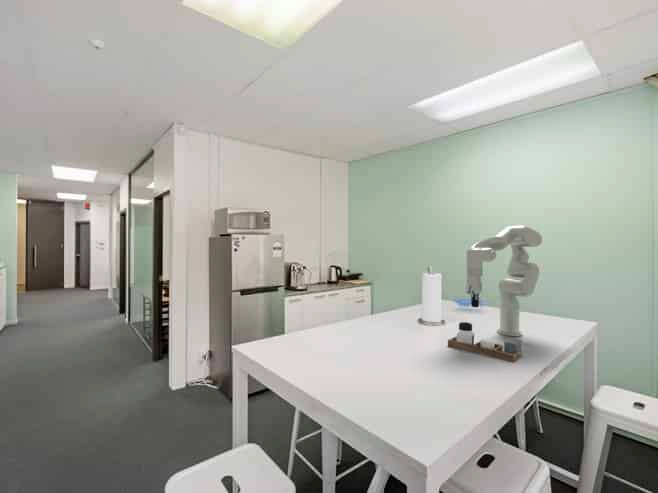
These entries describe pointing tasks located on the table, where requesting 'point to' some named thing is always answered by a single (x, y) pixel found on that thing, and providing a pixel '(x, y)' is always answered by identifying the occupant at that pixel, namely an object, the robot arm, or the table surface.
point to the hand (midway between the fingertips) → (475, 306)
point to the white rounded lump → (487, 344)
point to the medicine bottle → (465, 333)
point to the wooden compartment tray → (484, 350)
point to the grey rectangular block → (512, 346)
